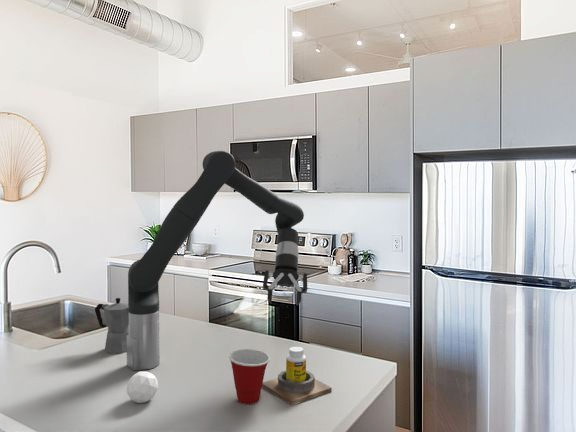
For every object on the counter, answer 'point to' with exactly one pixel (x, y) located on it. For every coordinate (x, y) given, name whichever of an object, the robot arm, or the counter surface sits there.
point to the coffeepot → (115, 325)
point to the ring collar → (296, 388)
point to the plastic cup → (248, 373)
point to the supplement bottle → (296, 365)
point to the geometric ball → (142, 387)
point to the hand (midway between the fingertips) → (284, 303)
